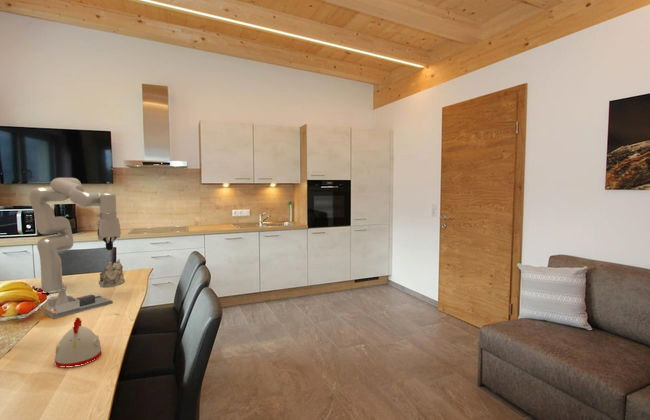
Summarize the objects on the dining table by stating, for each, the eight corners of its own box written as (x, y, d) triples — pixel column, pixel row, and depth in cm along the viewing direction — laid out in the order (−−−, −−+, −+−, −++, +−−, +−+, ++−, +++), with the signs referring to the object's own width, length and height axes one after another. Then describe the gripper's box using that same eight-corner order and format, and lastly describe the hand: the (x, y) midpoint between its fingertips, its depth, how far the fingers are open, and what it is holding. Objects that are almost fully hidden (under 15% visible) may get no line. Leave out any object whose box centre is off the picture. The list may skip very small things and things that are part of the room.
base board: (43, 312, 171) (42, 307, 171) (101, 298, 192) (101, 294, 192) (53, 318, 164) (53, 313, 164) (112, 303, 185) (112, 299, 185)
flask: (61, 312, 168) (61, 292, 167) (49, 311, 170) (48, 291, 169) (75, 307, 175) (74, 287, 174) (63, 306, 177) (62, 286, 176)
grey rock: (108, 278, 228) (107, 256, 226) (130, 281, 225) (129, 259, 223) (88, 287, 213) (86, 263, 211) (111, 290, 210) (110, 266, 208)
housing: (47, 309, 172) (47, 300, 172) (89, 299, 187) (88, 291, 186) (57, 314, 165) (56, 305, 165) (98, 303, 180) (98, 295, 180)
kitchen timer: (49, 371, 120) (47, 328, 119) (61, 352, 133) (59, 314, 131) (97, 363, 126) (96, 322, 124) (104, 346, 138) (102, 309, 137)
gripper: (96, 217, 180) (97, 252, 182) (126, 215, 192) (127, 248, 194) (89, 216, 184) (91, 250, 186) (119, 214, 197) (120, 246, 198)
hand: (109, 249), depth 190 cm, fingers closed
